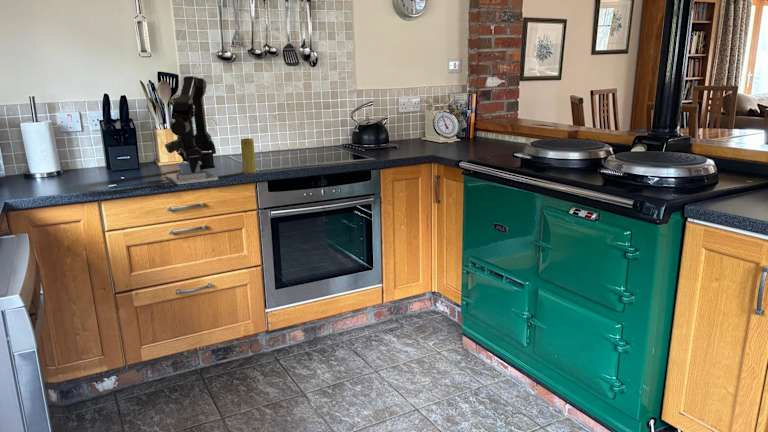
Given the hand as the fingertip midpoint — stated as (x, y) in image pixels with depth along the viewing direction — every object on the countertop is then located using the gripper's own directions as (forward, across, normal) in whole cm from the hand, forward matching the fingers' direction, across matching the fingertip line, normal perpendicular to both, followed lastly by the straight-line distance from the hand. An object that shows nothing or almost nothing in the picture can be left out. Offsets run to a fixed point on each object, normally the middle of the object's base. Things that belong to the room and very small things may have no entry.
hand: (190, 171), depth 232 cm
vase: (+4, -1, +25) cm, 25 cm away
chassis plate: (+4, -3, +1) cm, 5 cm away
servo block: (+2, 0, 0) cm, 3 cm away
